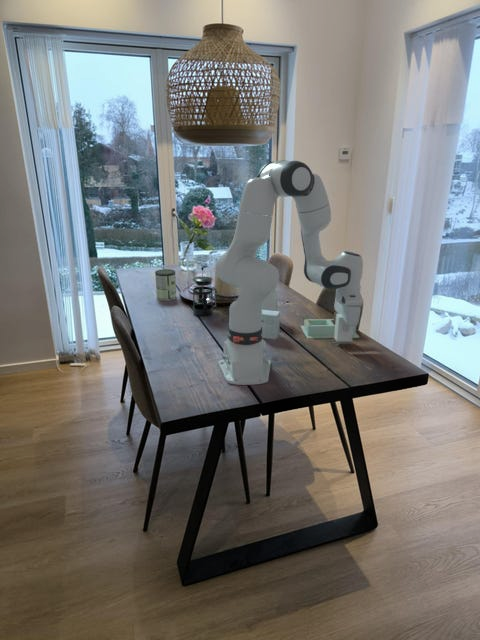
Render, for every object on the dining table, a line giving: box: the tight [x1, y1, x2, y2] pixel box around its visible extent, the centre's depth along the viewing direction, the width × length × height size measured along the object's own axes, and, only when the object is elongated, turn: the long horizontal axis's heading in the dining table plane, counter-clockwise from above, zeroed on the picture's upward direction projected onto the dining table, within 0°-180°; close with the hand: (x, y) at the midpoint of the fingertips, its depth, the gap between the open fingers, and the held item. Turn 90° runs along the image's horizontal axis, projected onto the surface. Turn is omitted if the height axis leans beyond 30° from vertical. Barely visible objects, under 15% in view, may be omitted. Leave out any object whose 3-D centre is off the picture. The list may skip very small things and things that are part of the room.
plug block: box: [333, 314, 354, 342], centre depth 170 cm, size 4×6×10 cm, turn 94°
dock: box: [300, 318, 361, 339], centre depth 184 cm, size 14×22×5 cm, turn 94°
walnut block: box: [333, 311, 338, 325], centre depth 184 cm, size 4×6×8 cm, turn 94°
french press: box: [192, 264, 218, 318], centre depth 203 cm, size 12×9×23 cm
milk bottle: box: [262, 289, 278, 311], centre depth 195 cm, size 8×8×20 cm
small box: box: [261, 310, 281, 340], centre depth 180 cm, size 8×6×10 cm
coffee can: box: [154, 268, 177, 302], centre depth 226 cm, size 10×10×14 cm
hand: (343, 328), depth 170 cm, fingers closed on plug block, 4 cm apart
